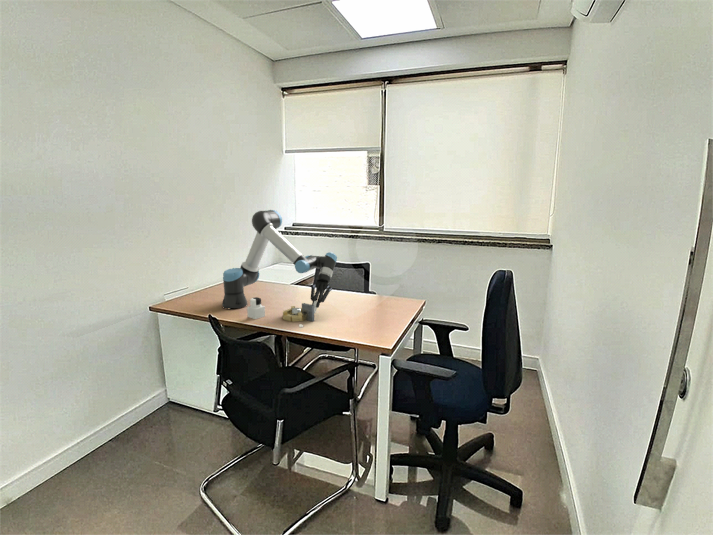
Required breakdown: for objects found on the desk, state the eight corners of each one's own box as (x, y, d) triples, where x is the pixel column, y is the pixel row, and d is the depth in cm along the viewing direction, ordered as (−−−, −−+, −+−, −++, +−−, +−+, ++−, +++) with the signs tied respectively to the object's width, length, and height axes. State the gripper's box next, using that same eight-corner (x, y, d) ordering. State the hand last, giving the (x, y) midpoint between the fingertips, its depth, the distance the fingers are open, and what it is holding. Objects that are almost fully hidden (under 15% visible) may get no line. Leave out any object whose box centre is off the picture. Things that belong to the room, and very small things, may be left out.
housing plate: (273, 323, 205) (272, 313, 204) (286, 312, 224) (285, 303, 223) (308, 326, 201) (307, 315, 200) (318, 314, 221) (318, 304, 220)
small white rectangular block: (298, 327, 200) (298, 324, 200) (302, 326, 201) (302, 324, 200) (299, 329, 196) (299, 326, 196) (303, 329, 197) (303, 326, 197)
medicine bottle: (257, 315, 219) (256, 295, 217) (265, 318, 215) (264, 298, 212) (247, 318, 214) (246, 298, 211) (255, 321, 209) (253, 300, 207)
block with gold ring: (277, 318, 211) (276, 302, 209) (296, 311, 223) (295, 296, 221) (304, 325, 200) (303, 309, 198) (322, 317, 212) (321, 302, 210)
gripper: (337, 280, 220) (326, 316, 209) (316, 279, 225) (304, 314, 213) (333, 273, 214) (321, 310, 203) (312, 272, 219) (300, 308, 207)
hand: (313, 312), depth 208 cm, fingers closed
